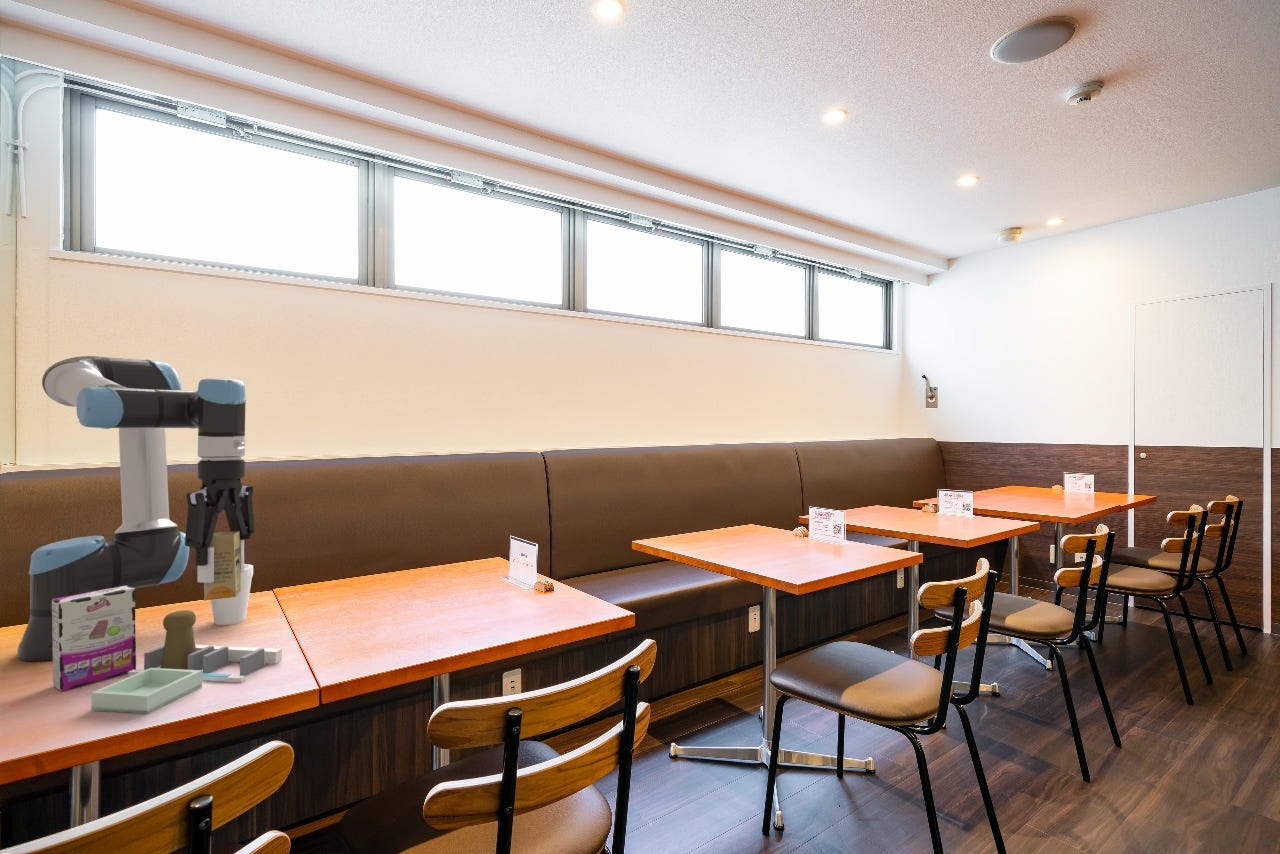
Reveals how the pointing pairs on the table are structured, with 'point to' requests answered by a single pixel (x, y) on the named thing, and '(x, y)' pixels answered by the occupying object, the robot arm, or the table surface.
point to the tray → (146, 690)
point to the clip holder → (218, 660)
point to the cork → (178, 639)
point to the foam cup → (234, 602)
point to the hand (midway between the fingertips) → (221, 576)
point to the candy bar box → (93, 637)
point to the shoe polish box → (225, 566)
